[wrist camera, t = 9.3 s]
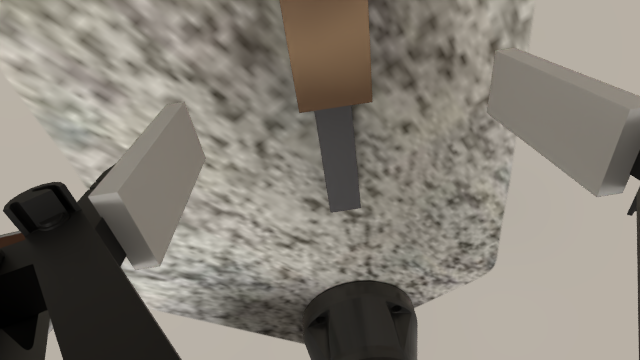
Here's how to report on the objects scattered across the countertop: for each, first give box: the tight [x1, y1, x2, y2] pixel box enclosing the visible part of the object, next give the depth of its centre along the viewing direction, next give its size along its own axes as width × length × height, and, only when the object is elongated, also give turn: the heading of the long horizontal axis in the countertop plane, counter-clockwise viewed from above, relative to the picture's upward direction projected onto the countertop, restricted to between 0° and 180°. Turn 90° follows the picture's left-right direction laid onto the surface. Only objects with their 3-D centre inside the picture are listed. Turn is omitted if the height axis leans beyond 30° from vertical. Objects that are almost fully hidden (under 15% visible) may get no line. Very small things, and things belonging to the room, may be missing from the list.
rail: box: [315, 105, 361, 213], centre depth 28 cm, size 17×3×4 cm, turn 8°
